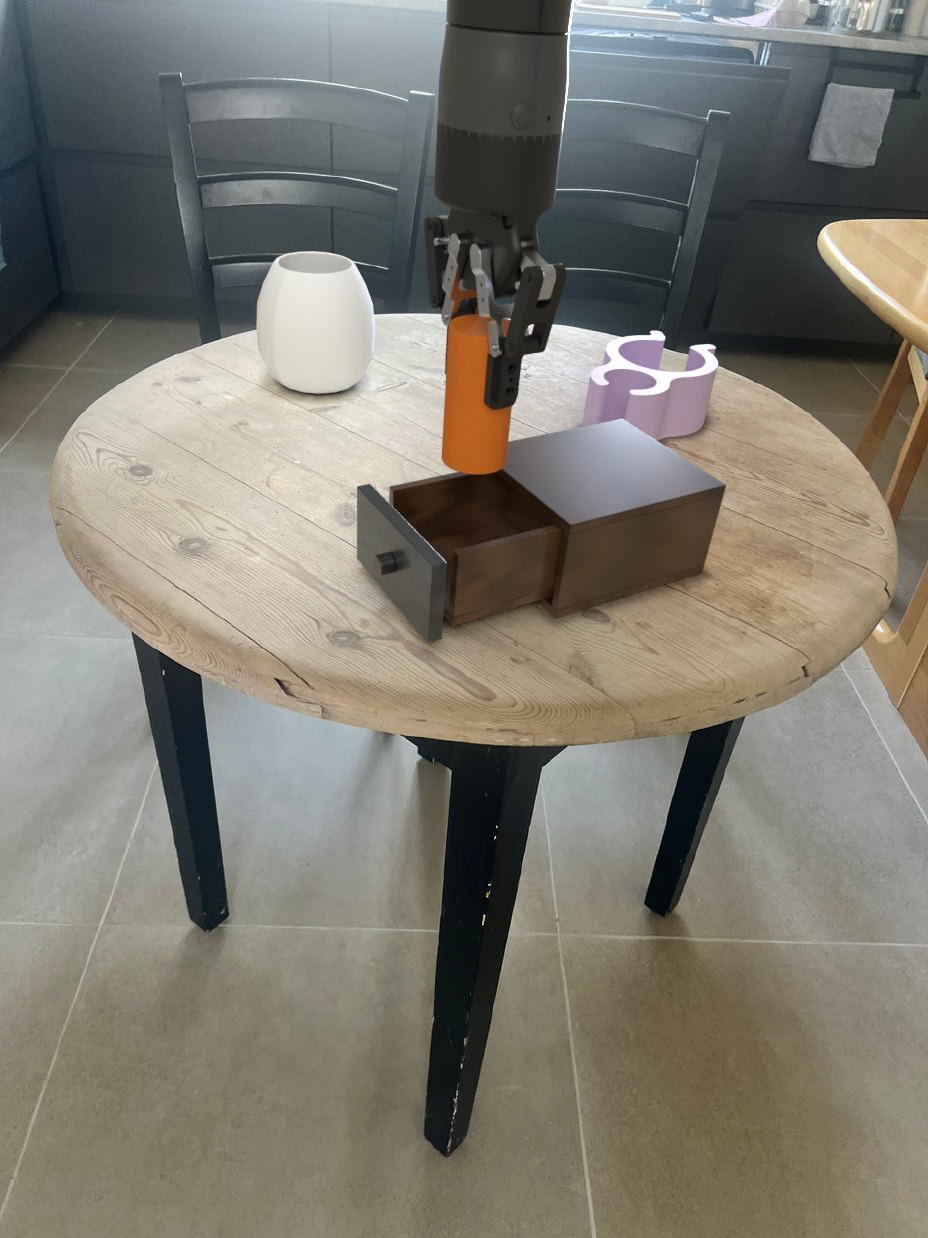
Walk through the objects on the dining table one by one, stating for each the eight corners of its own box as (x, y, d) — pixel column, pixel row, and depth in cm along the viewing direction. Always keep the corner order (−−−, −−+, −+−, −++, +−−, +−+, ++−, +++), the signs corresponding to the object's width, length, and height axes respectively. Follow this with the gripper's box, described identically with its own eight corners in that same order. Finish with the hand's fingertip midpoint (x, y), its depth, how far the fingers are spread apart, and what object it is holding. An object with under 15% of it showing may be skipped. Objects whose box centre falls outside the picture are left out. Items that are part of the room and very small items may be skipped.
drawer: (413, 647, 66) (417, 570, 62) (343, 562, 74) (342, 488, 70) (586, 595, 73) (599, 522, 69) (504, 522, 81) (511, 453, 77)
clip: (659, 468, 94) (673, 406, 90) (552, 434, 98) (561, 373, 94) (721, 407, 108) (736, 350, 104) (625, 380, 113) (635, 325, 108)
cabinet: (555, 618, 72) (570, 525, 66) (468, 535, 81) (475, 447, 76) (702, 573, 78) (726, 485, 73) (607, 501, 88) (622, 418, 82)
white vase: (397, 381, 107) (400, 264, 99) (320, 415, 98) (317, 289, 90) (315, 351, 113) (311, 238, 105) (235, 380, 104) (225, 259, 96)
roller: (462, 480, 64) (472, 341, 58) (429, 451, 68) (436, 318, 62) (518, 467, 66) (533, 333, 61) (484, 440, 70) (495, 310, 64)
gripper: (625, 139, 51) (581, 423, 61) (491, 99, 60) (472, 350, 70) (512, 142, 47) (486, 442, 57) (389, 100, 57) (386, 363, 67)
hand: (479, 390), depth 64 cm, fingers closed on roller, 4 cm apart
